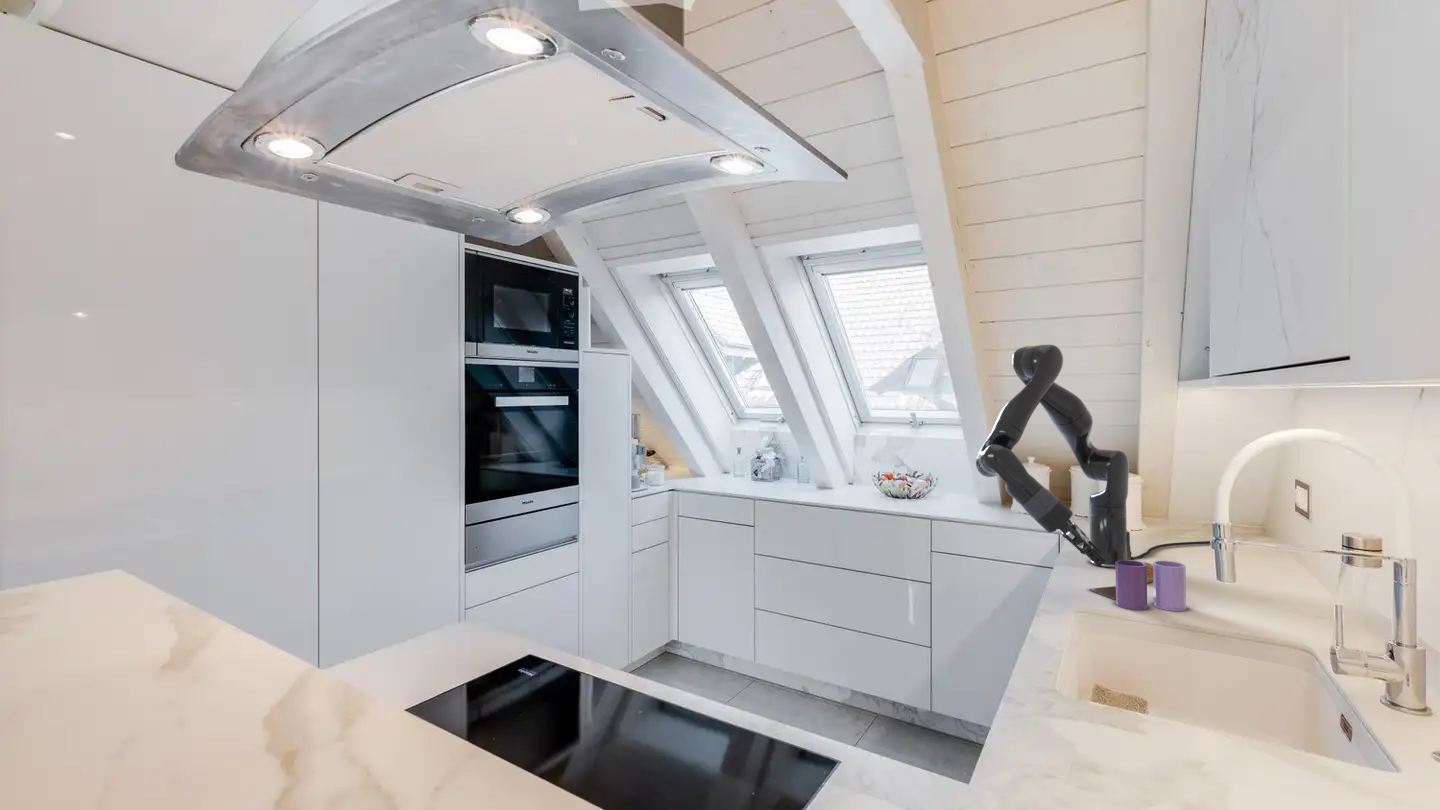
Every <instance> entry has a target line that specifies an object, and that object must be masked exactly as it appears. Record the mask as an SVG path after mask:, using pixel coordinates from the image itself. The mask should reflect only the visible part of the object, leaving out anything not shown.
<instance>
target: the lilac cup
mask: <svg viewBox="0 0 1440 810" xmlns="http://www.w3.org/2000/svg"><path fill="white" fill-rule="evenodd" d="M1152 565H1153V582H1152V583H1153V584H1152V585H1153V586H1152V587H1153V593H1152V594H1153V595H1152V596H1153V606H1154V607H1155V608H1157V609H1161V610H1165V611H1171V612H1184V611H1186V610H1187V579H1186V578H1187V575H1186V574H1187V573H1186V572H1187V571H1186V568H1187V567H1186V564H1184V563H1182V562H1177V561H1173V560H1154V561H1153V562H1152Z"/></svg>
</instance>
